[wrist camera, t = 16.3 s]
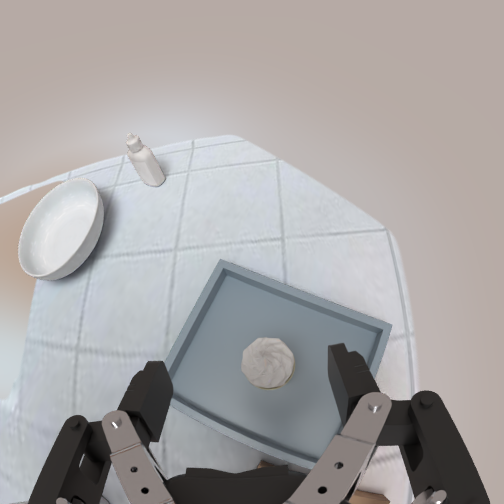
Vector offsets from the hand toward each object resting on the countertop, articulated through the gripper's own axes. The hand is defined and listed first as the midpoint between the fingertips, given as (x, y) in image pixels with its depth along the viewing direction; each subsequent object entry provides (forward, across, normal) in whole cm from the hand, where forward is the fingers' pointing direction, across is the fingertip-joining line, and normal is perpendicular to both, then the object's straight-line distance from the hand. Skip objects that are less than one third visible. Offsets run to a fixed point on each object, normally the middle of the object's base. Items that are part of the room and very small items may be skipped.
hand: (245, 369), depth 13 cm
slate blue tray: (+18, -1, +15) cm, 23 cm away
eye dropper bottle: (+43, +18, -9) cm, 47 cm away
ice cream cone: (+17, -1, +15) cm, 23 cm away
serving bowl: (+35, +35, -2) cm, 50 cm away
